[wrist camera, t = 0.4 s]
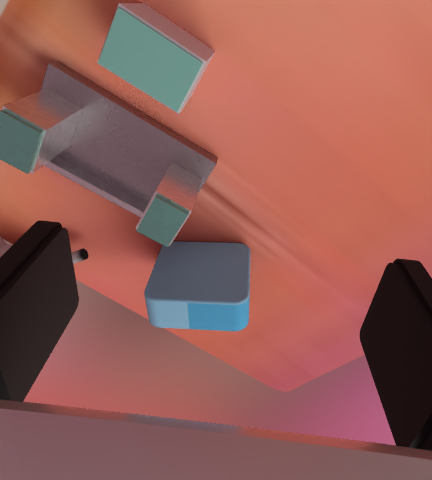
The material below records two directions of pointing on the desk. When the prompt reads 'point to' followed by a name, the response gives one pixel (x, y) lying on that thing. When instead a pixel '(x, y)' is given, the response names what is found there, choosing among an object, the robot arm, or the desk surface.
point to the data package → (200, 286)
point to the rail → (106, 150)
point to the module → (154, 54)
